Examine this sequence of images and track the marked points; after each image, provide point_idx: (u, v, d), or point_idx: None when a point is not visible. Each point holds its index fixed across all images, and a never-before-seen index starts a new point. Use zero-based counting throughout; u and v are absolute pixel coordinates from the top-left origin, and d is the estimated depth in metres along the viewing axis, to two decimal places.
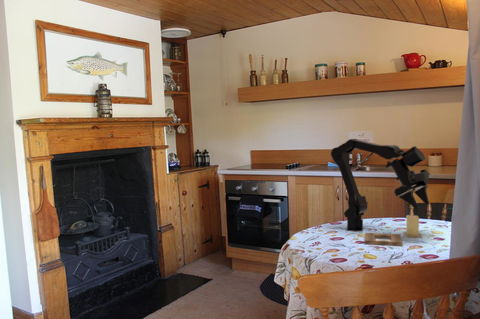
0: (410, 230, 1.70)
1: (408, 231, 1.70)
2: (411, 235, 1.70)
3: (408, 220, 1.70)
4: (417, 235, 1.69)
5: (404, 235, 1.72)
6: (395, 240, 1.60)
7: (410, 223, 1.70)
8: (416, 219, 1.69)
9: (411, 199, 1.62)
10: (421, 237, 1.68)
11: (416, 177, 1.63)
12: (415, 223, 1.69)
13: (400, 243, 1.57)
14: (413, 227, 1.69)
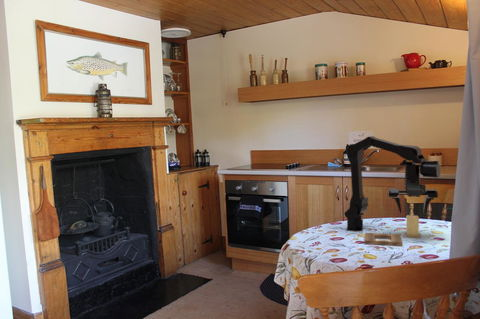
0: (410, 230, 1.70)
1: (408, 231, 1.70)
2: (411, 235, 1.70)
3: (408, 220, 1.70)
4: (417, 235, 1.69)
5: (404, 235, 1.72)
6: (395, 240, 1.60)
7: (410, 223, 1.70)
8: (416, 219, 1.69)
9: (397, 203, 1.72)
10: (421, 237, 1.68)
11: (407, 189, 1.66)
12: (415, 223, 1.69)
13: (400, 243, 1.57)
14: (413, 227, 1.69)
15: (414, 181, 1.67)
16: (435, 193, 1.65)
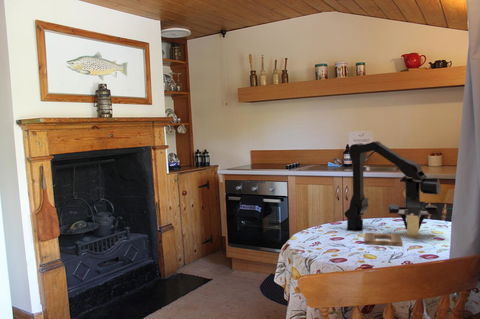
0: (410, 230, 1.70)
1: (408, 231, 1.70)
2: (411, 235, 1.70)
3: (408, 220, 1.70)
4: (417, 235, 1.69)
5: (404, 235, 1.72)
6: (395, 240, 1.60)
7: (410, 223, 1.70)
8: (416, 219, 1.69)
9: (403, 220, 1.72)
10: (421, 237, 1.68)
11: (407, 206, 1.66)
12: (415, 223, 1.69)
13: (400, 243, 1.57)
14: (413, 227, 1.69)
15: (414, 198, 1.68)
16: (435, 210, 1.65)
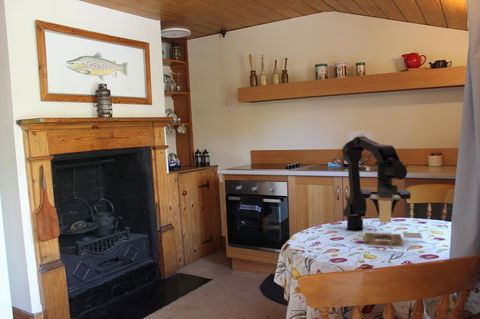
0: (382, 216, 1.63)
1: (380, 217, 1.63)
2: (383, 221, 1.63)
3: (380, 205, 1.63)
4: (389, 221, 1.62)
5: (404, 235, 1.72)
6: (395, 240, 1.60)
7: (382, 208, 1.63)
8: (388, 204, 1.62)
9: None
10: (421, 237, 1.68)
11: (378, 190, 1.59)
12: (387, 208, 1.62)
13: (400, 243, 1.57)
14: (385, 212, 1.62)
15: (386, 182, 1.61)
16: (408, 194, 1.59)
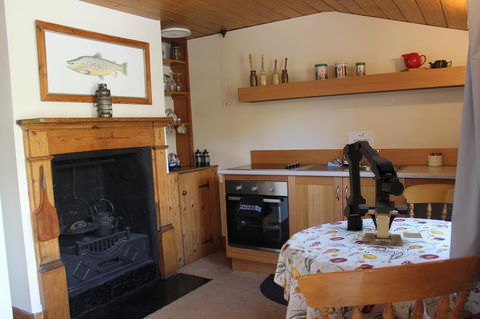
0: (380, 231, 1.63)
1: (378, 232, 1.63)
2: (381, 236, 1.63)
3: (378, 220, 1.63)
4: (387, 236, 1.62)
5: (404, 235, 1.72)
6: (395, 240, 1.60)
7: (379, 223, 1.63)
8: (386, 219, 1.62)
9: None
10: (421, 237, 1.68)
11: (376, 206, 1.60)
12: (385, 224, 1.62)
13: (400, 243, 1.57)
14: (383, 228, 1.62)
15: (384, 197, 1.61)
16: (405, 210, 1.59)
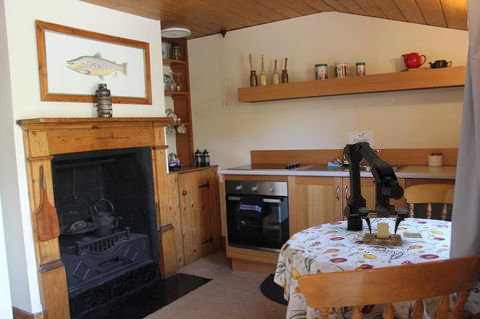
0: (380, 238, 1.63)
1: None
2: None
3: (378, 228, 1.63)
4: None
5: (404, 235, 1.72)
6: (395, 240, 1.60)
7: (380, 231, 1.63)
8: (386, 227, 1.62)
9: None
10: (421, 237, 1.68)
11: (376, 209, 1.60)
12: (385, 231, 1.62)
13: (400, 243, 1.57)
14: (383, 235, 1.63)
15: (384, 201, 1.61)
16: (405, 214, 1.59)
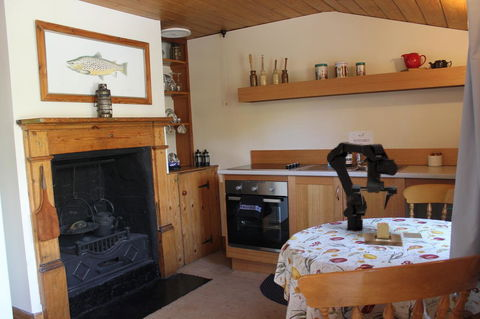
0: (380, 238, 1.63)
1: None
2: None
3: (378, 228, 1.63)
4: None
5: (404, 235, 1.72)
6: (395, 240, 1.60)
7: (380, 231, 1.63)
8: (386, 227, 1.62)
9: None
10: (421, 237, 1.68)
11: None
12: (385, 231, 1.62)
13: (400, 243, 1.57)
14: (383, 235, 1.63)
15: (375, 178, 1.73)
16: (394, 190, 1.71)
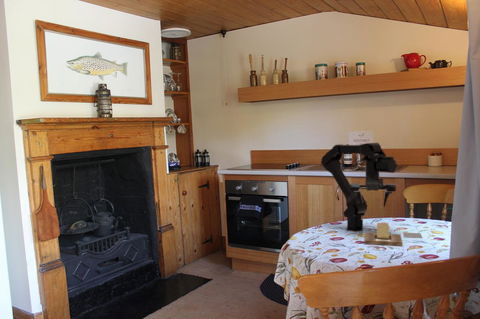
0: (380, 238, 1.63)
1: None
2: None
3: (378, 228, 1.63)
4: None
5: (404, 235, 1.72)
6: (395, 240, 1.60)
7: (380, 231, 1.63)
8: (386, 227, 1.62)
9: None
10: (421, 237, 1.68)
11: (366, 183, 1.74)
12: (385, 231, 1.62)
13: (400, 243, 1.57)
14: (383, 235, 1.63)
15: (373, 176, 1.75)
16: (393, 187, 1.73)
